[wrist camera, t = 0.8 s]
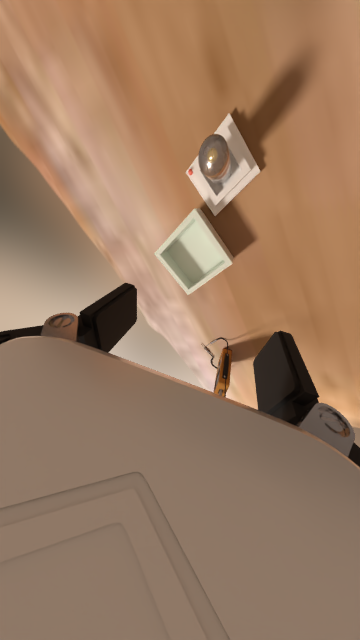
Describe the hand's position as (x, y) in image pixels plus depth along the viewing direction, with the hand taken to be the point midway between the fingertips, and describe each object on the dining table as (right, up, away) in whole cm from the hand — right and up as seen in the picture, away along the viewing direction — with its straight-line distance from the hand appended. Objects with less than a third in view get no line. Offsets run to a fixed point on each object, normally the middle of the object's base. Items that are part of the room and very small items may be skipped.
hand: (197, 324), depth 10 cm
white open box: (+3, +16, +26) cm, 30 cm away
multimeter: (+10, -11, +41) cm, 44 cm away
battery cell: (+6, +26, +16) cm, 31 cm away
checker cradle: (+6, +26, +17) cm, 32 cm away
